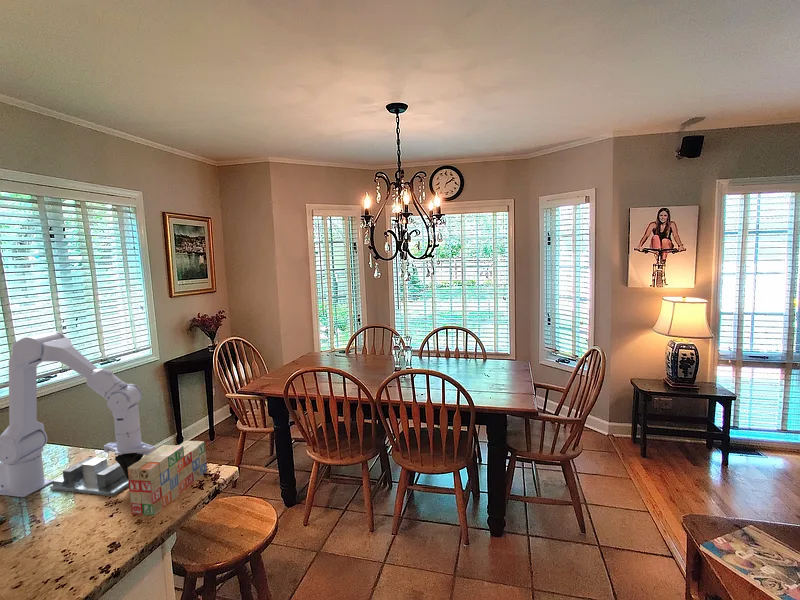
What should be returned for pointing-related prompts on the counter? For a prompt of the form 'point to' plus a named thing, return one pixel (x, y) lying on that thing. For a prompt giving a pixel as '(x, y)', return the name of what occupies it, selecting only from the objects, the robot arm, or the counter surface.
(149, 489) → the stack of blocks
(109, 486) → the base
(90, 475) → the aluminium block
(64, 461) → the counter surface
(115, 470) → the block
